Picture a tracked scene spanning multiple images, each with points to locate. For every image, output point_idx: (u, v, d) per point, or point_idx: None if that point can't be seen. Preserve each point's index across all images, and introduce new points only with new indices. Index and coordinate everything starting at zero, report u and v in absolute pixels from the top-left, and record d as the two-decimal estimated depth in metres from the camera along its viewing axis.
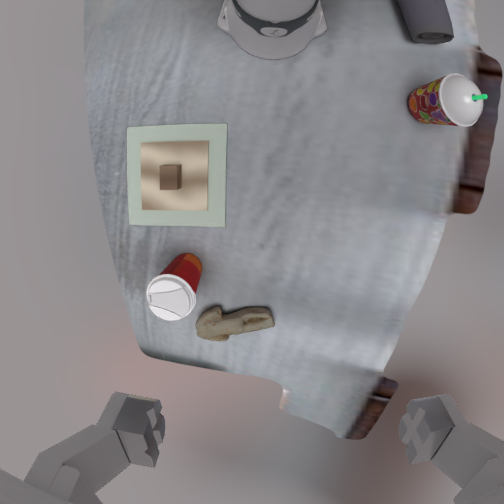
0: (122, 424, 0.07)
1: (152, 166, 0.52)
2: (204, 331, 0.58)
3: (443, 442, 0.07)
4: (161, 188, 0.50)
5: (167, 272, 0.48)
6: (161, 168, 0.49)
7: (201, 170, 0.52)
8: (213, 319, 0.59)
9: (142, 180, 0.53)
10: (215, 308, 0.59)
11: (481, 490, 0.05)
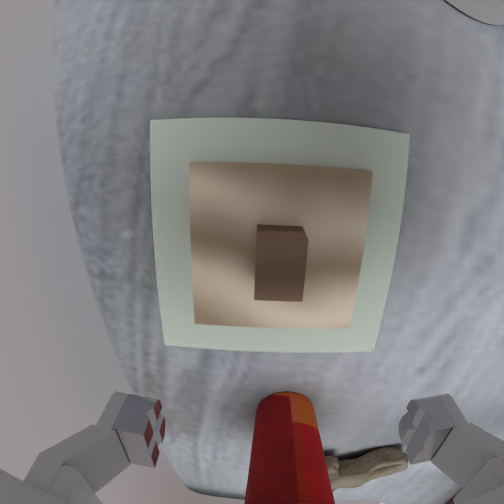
0: (123, 424, 0.07)
1: (224, 226, 0.21)
2: None
3: (443, 442, 0.07)
4: (259, 296, 0.20)
5: (285, 487, 0.17)
6: (262, 245, 0.18)
7: (350, 243, 0.21)
8: None
9: (195, 259, 0.22)
10: (330, 462, 0.29)
11: (481, 490, 0.05)
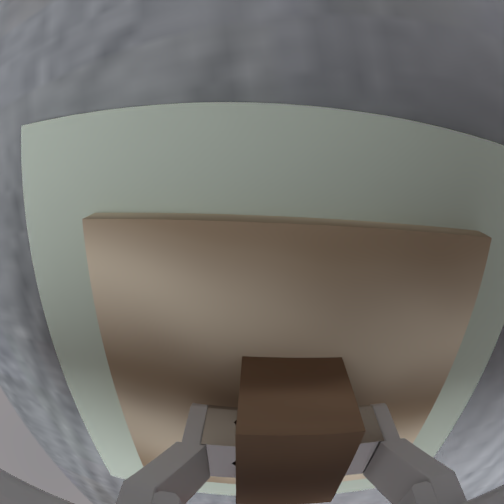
0: (212, 437, 0.07)
1: (171, 356, 0.09)
2: None
3: (373, 456, 0.07)
4: (246, 501, 0.07)
5: None
6: (250, 445, 0.06)
7: (426, 375, 0.09)
8: None
9: (126, 401, 0.10)
10: None
11: None
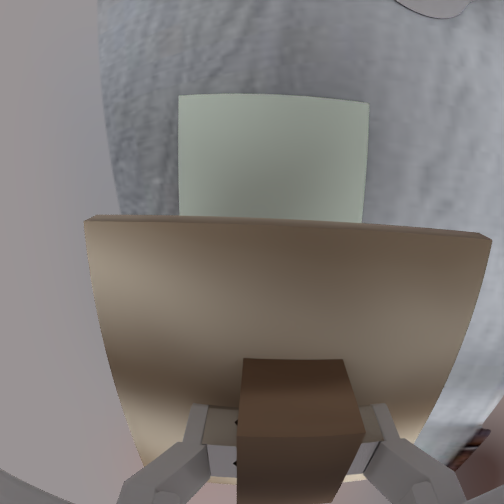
0: (213, 437, 0.07)
1: (172, 357, 0.09)
2: None
3: (373, 456, 0.07)
4: (246, 502, 0.07)
5: None
6: (251, 446, 0.06)
7: (426, 377, 0.09)
8: None
9: (127, 402, 0.10)
10: None
11: None
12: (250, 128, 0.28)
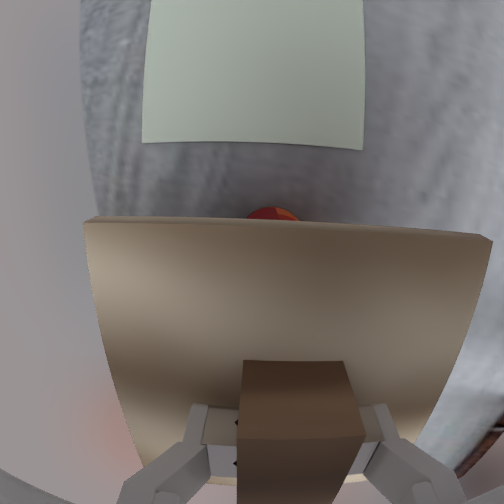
0: (213, 437, 0.07)
1: (172, 359, 0.09)
2: None
3: (373, 456, 0.07)
4: (246, 503, 0.07)
5: None
6: (251, 449, 0.06)
7: (427, 378, 0.09)
8: None
9: (127, 404, 0.10)
10: None
11: None
12: None
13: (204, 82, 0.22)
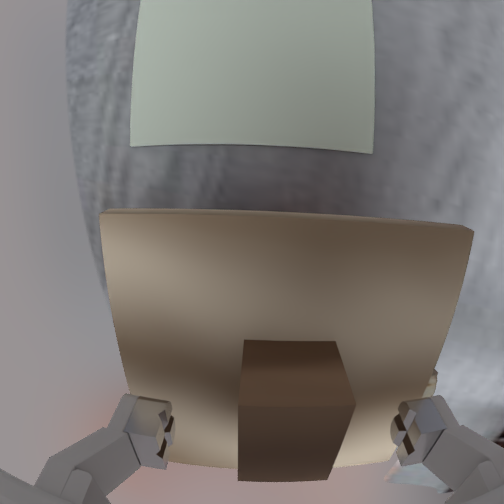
0: (134, 426, 0.07)
1: (178, 340, 0.10)
2: None
3: (434, 444, 0.07)
4: (247, 477, 0.08)
5: None
6: (251, 417, 0.07)
7: (416, 360, 0.10)
8: None
9: (134, 386, 0.11)
10: None
11: (472, 494, 0.05)
12: None
13: (198, 79, 0.20)
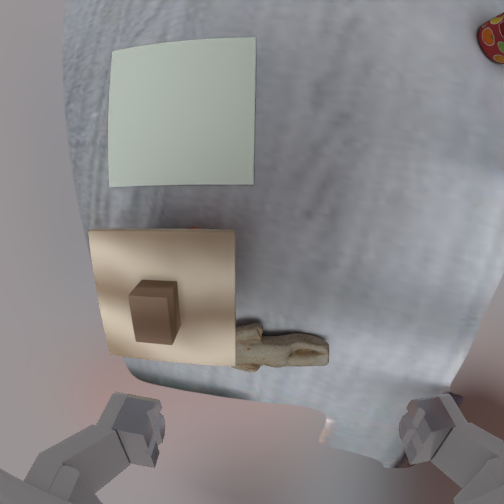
0: (123, 424, 0.07)
1: (118, 280, 0.25)
2: None
3: (443, 442, 0.07)
4: (138, 339, 0.23)
5: None
6: (133, 300, 0.22)
7: (220, 295, 0.25)
8: (249, 340, 0.39)
9: (102, 305, 0.25)
10: (255, 325, 0.40)
11: (481, 490, 0.05)
12: (160, 67, 0.32)
13: (145, 145, 0.35)
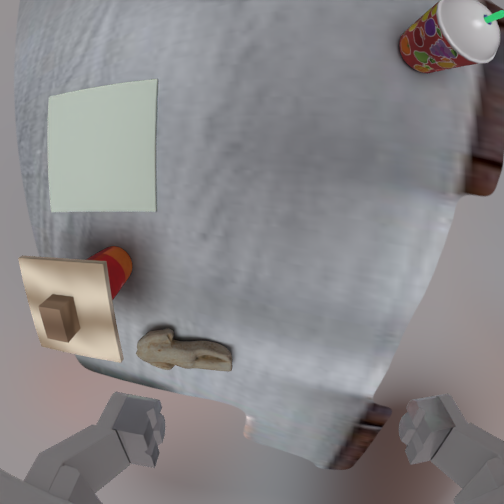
0: (123, 424, 0.07)
1: (39, 293, 0.30)
2: (146, 353, 0.44)
3: (443, 442, 0.07)
4: (48, 336, 0.28)
5: None
6: (41, 310, 0.27)
7: (101, 309, 0.30)
8: (160, 343, 0.45)
9: (32, 310, 0.31)
10: (166, 331, 0.45)
11: (481, 490, 0.05)
12: (83, 111, 0.37)
13: (74, 179, 0.40)
